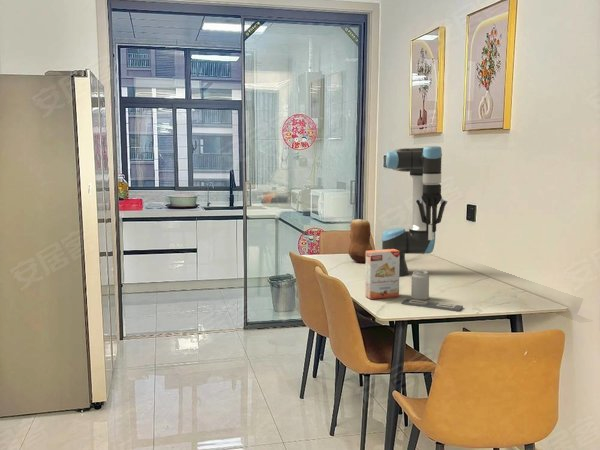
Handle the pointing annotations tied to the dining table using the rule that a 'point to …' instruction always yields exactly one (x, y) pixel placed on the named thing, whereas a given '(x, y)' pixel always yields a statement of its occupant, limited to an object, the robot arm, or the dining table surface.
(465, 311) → the dining table surface
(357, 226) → the butternut squash
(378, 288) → the cracker box
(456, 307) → the panel
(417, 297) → the can
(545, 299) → the dining table surface
